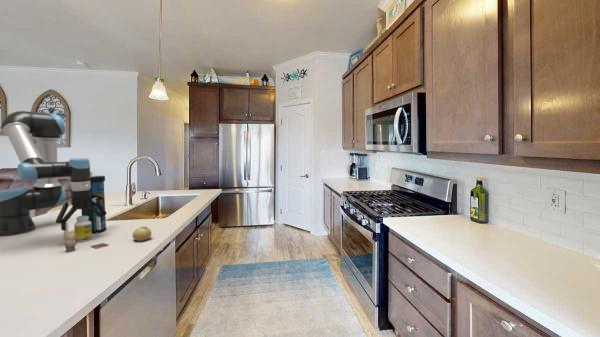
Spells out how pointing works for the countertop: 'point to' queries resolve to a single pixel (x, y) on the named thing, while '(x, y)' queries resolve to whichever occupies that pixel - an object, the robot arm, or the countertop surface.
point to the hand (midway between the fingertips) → (83, 232)
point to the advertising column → (96, 192)
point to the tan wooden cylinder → (69, 241)
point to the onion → (141, 234)
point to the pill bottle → (82, 229)
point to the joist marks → (99, 245)
